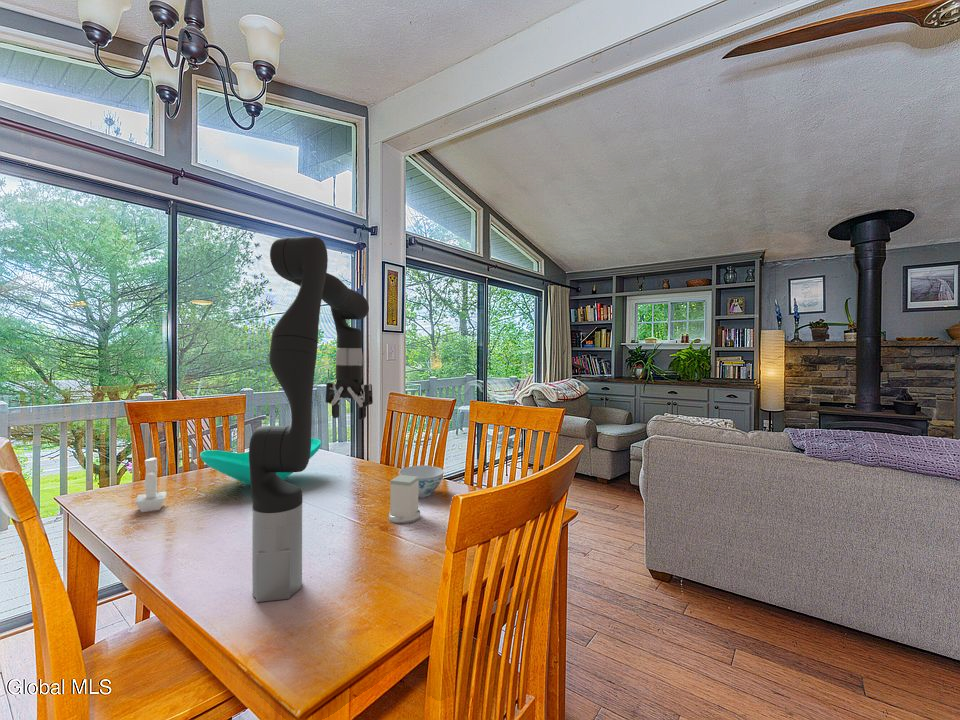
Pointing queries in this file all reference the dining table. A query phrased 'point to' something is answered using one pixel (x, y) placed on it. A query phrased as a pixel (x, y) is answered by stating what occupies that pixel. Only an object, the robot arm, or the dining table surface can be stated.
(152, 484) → the figurine
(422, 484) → the chinaware
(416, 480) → the pale green block
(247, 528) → the dining table surface
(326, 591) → the dining table surface
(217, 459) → the table top decor
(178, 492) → the dining table surface
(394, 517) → the grey post on dish
